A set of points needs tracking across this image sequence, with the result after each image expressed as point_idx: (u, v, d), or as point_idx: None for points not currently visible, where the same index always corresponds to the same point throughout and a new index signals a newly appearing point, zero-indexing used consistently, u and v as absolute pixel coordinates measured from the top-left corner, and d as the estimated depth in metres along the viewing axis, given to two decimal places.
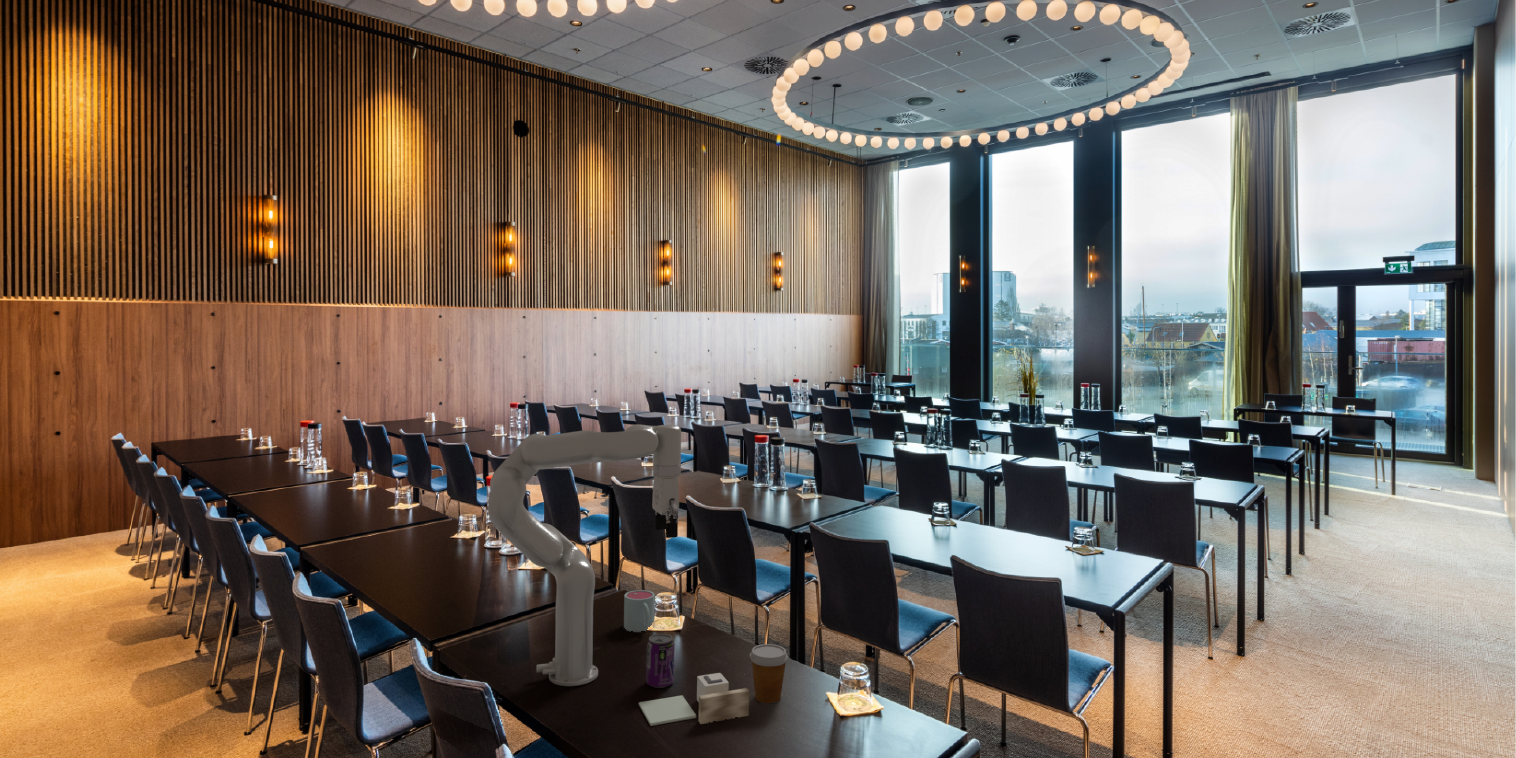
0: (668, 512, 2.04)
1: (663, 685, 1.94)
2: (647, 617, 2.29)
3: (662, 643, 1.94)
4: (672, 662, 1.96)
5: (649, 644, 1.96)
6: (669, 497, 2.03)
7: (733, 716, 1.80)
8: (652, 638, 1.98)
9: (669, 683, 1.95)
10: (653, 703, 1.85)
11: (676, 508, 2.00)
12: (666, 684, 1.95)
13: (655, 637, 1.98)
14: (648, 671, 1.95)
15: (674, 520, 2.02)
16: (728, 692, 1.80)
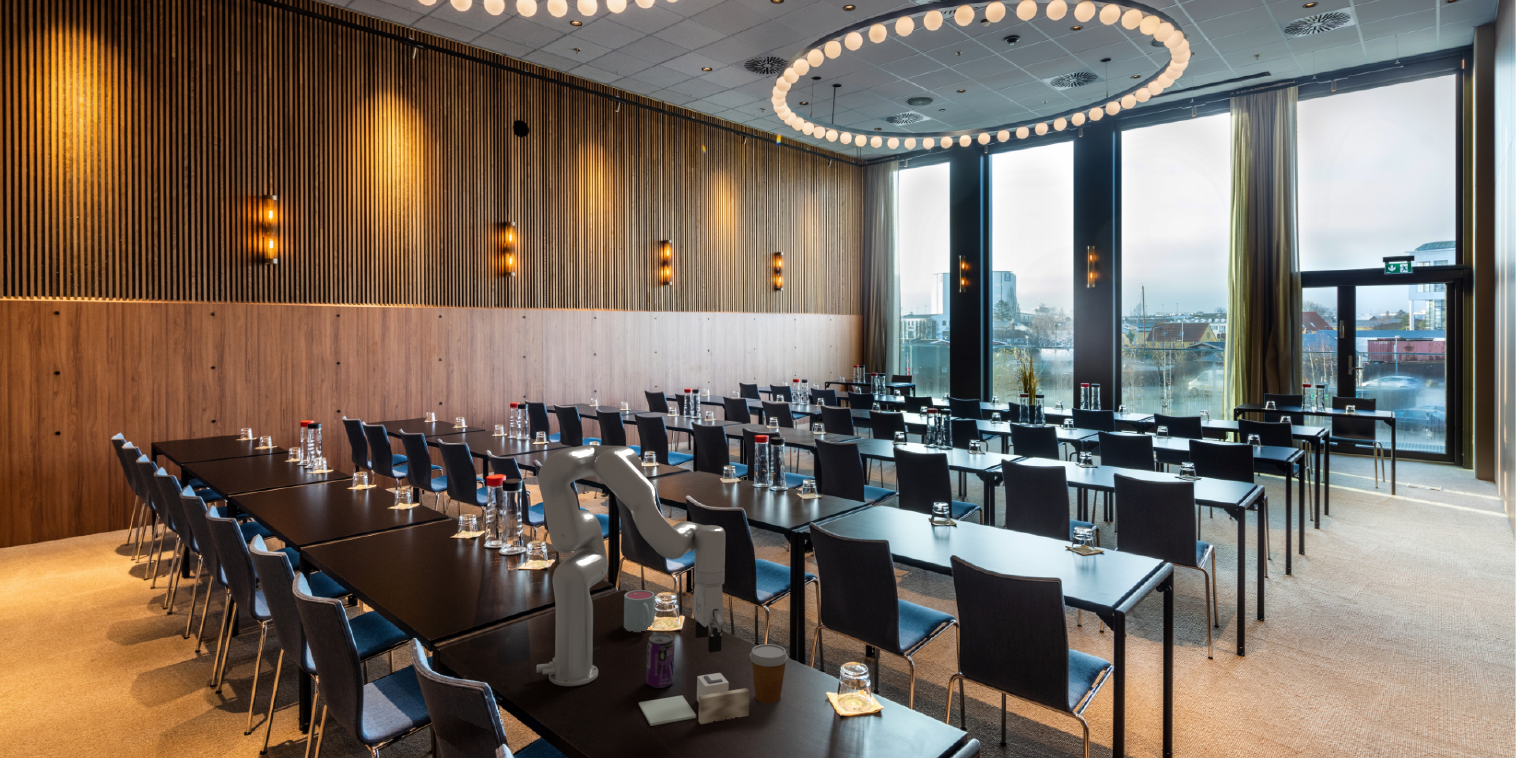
0: (711, 624, 1.86)
1: (663, 685, 1.94)
2: (647, 617, 2.29)
3: (662, 643, 1.94)
4: (672, 662, 1.96)
5: (649, 644, 1.96)
6: (712, 608, 1.85)
7: (733, 716, 1.80)
8: (652, 638, 1.98)
9: (669, 683, 1.95)
10: (653, 703, 1.85)
11: (720, 621, 1.83)
12: (666, 684, 1.95)
13: (655, 637, 1.98)
14: (648, 671, 1.95)
15: (718, 633, 1.84)
16: (728, 692, 1.80)
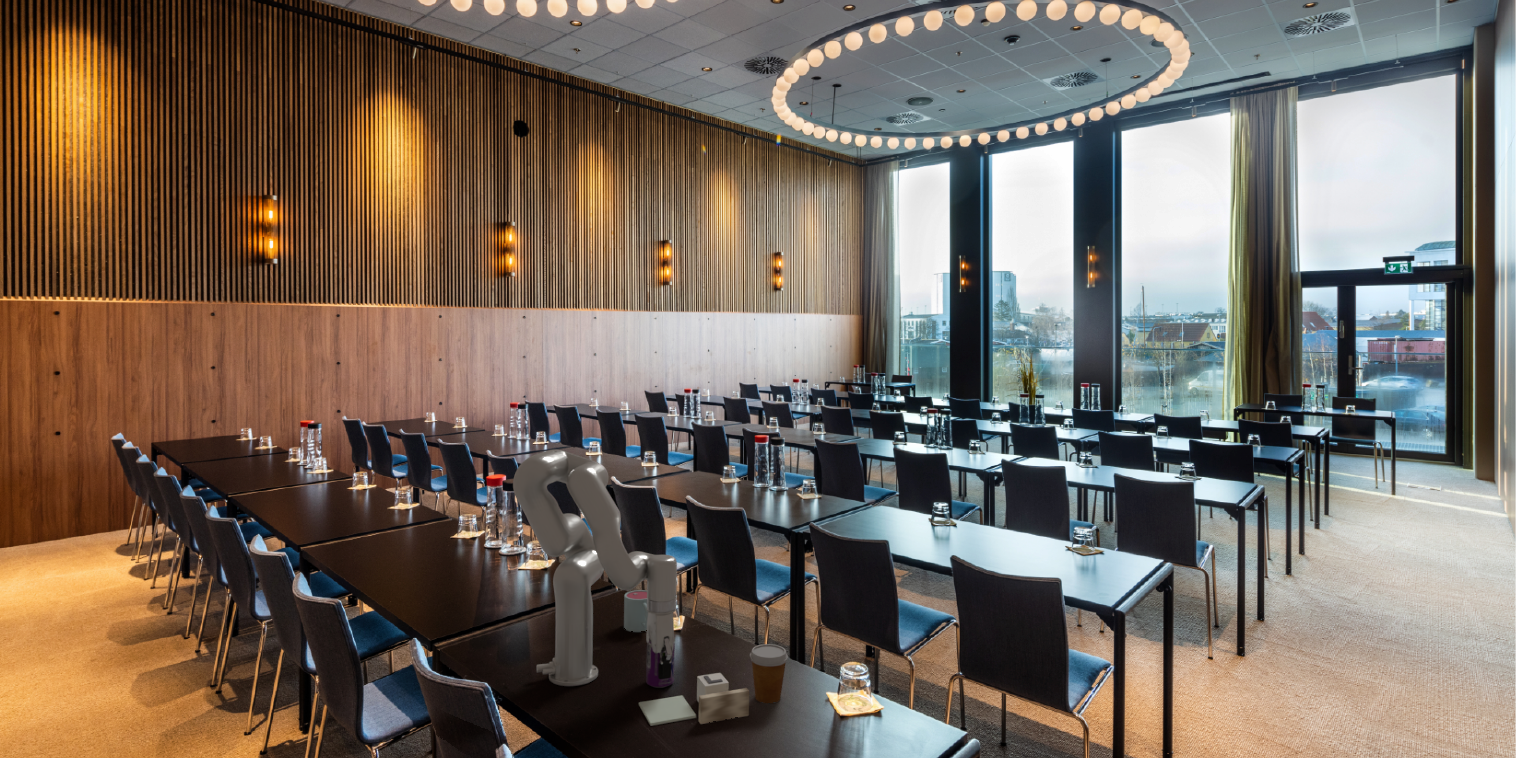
0: (661, 652, 1.93)
1: (663, 685, 1.94)
2: None
3: None
4: (672, 662, 1.96)
5: (649, 644, 1.96)
6: (663, 637, 1.92)
7: (733, 716, 1.80)
8: None
9: (669, 683, 1.95)
10: (653, 703, 1.85)
11: (670, 652, 1.90)
12: (666, 684, 1.95)
13: None
14: (648, 671, 1.95)
15: (667, 661, 1.92)
16: (728, 692, 1.80)
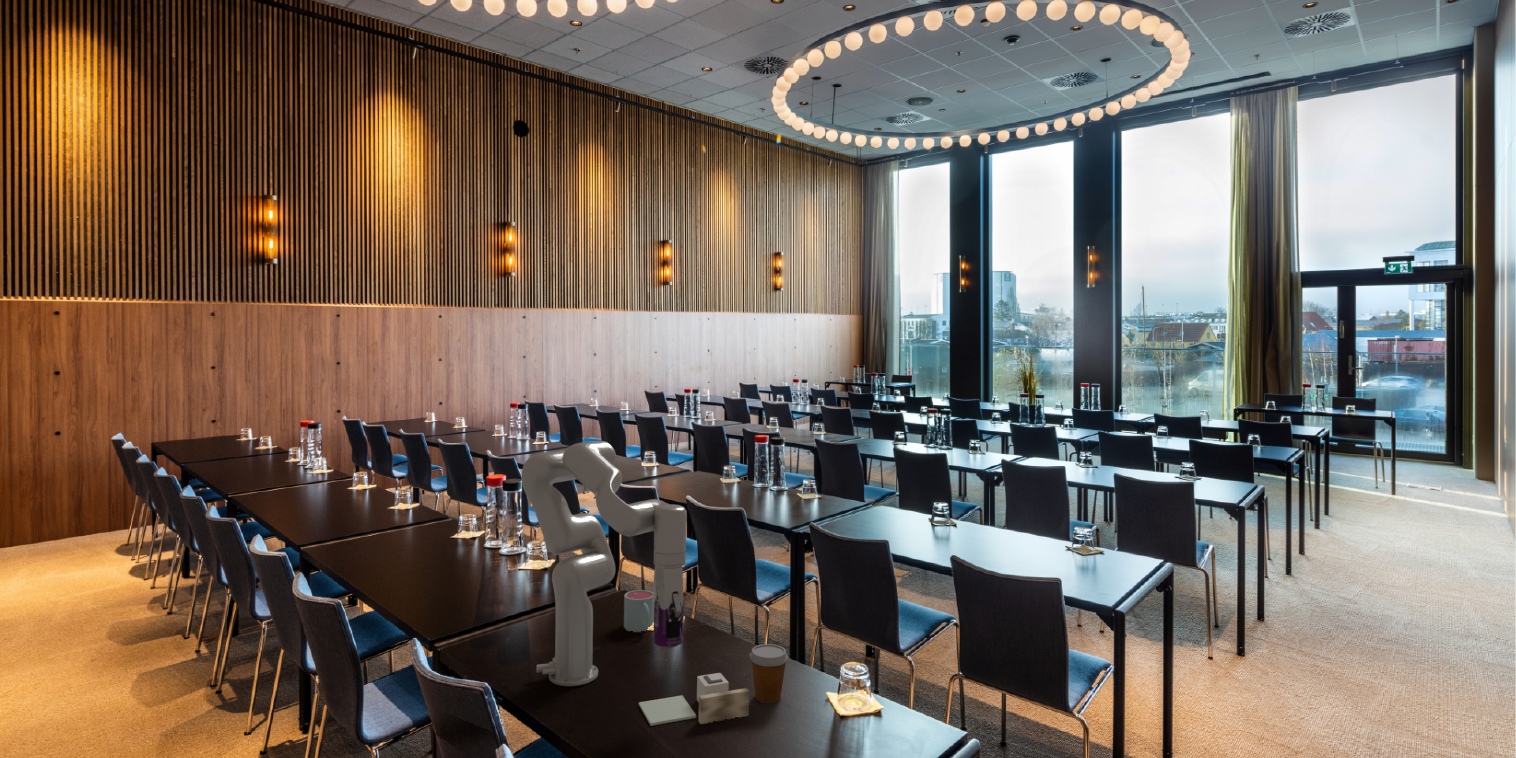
0: (670, 608, 1.78)
1: (672, 645, 1.79)
2: (647, 617, 2.29)
3: None
4: (681, 620, 1.81)
5: (657, 600, 1.80)
6: (672, 592, 1.77)
7: (733, 716, 1.80)
8: None
9: (678, 643, 1.80)
10: (653, 703, 1.85)
11: (679, 608, 1.75)
12: (675, 644, 1.80)
13: None
14: (655, 630, 1.80)
15: (676, 618, 1.77)
16: (728, 692, 1.80)
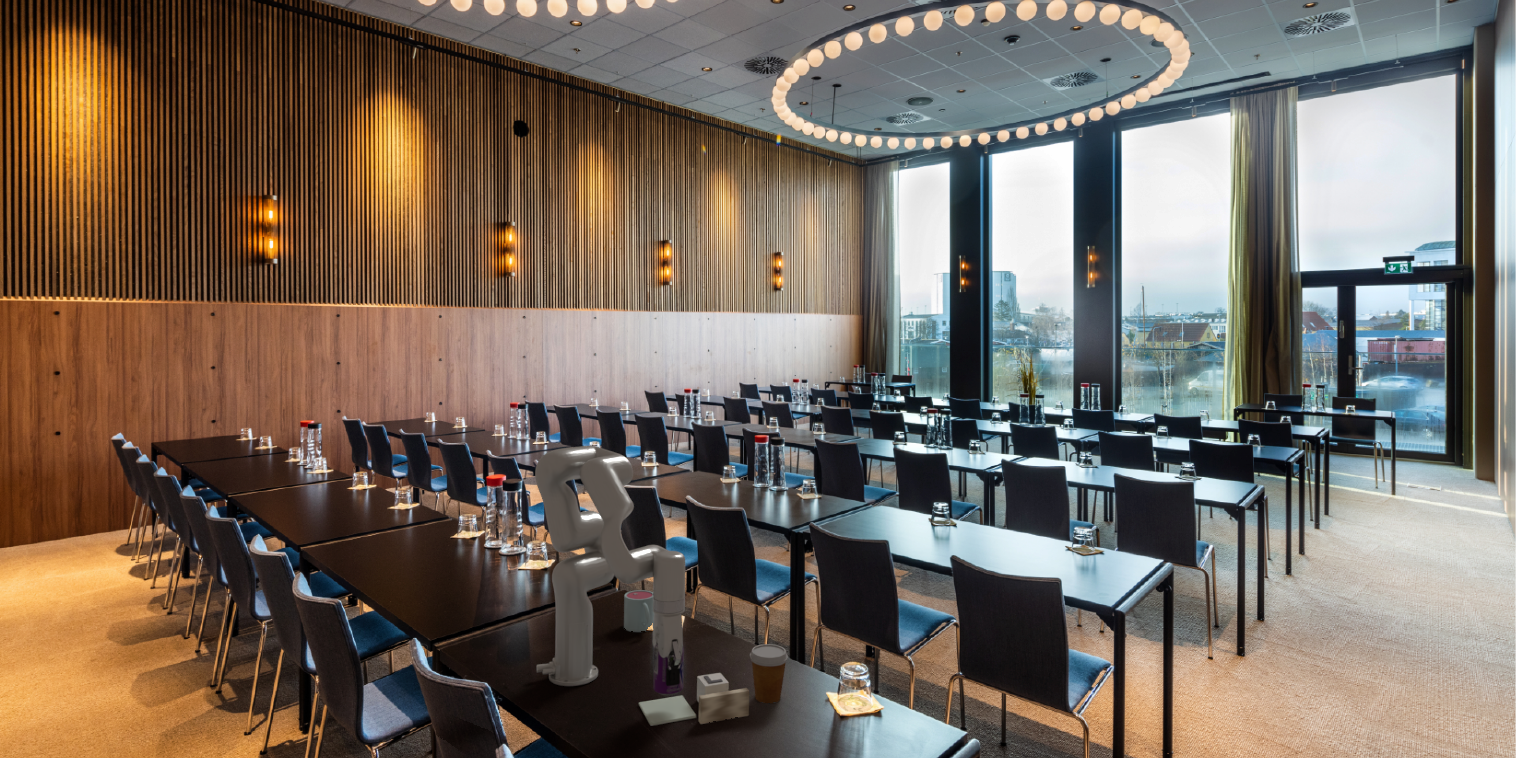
0: (669, 656, 1.78)
1: (672, 692, 1.79)
2: (647, 617, 2.29)
3: None
4: (681, 667, 1.81)
5: (656, 648, 1.81)
6: (671, 640, 1.77)
7: (733, 716, 1.80)
8: None
9: (678, 690, 1.80)
10: (653, 703, 1.85)
11: (678, 656, 1.75)
12: (675, 691, 1.80)
13: None
14: (655, 677, 1.80)
15: (675, 666, 1.77)
16: (728, 692, 1.80)
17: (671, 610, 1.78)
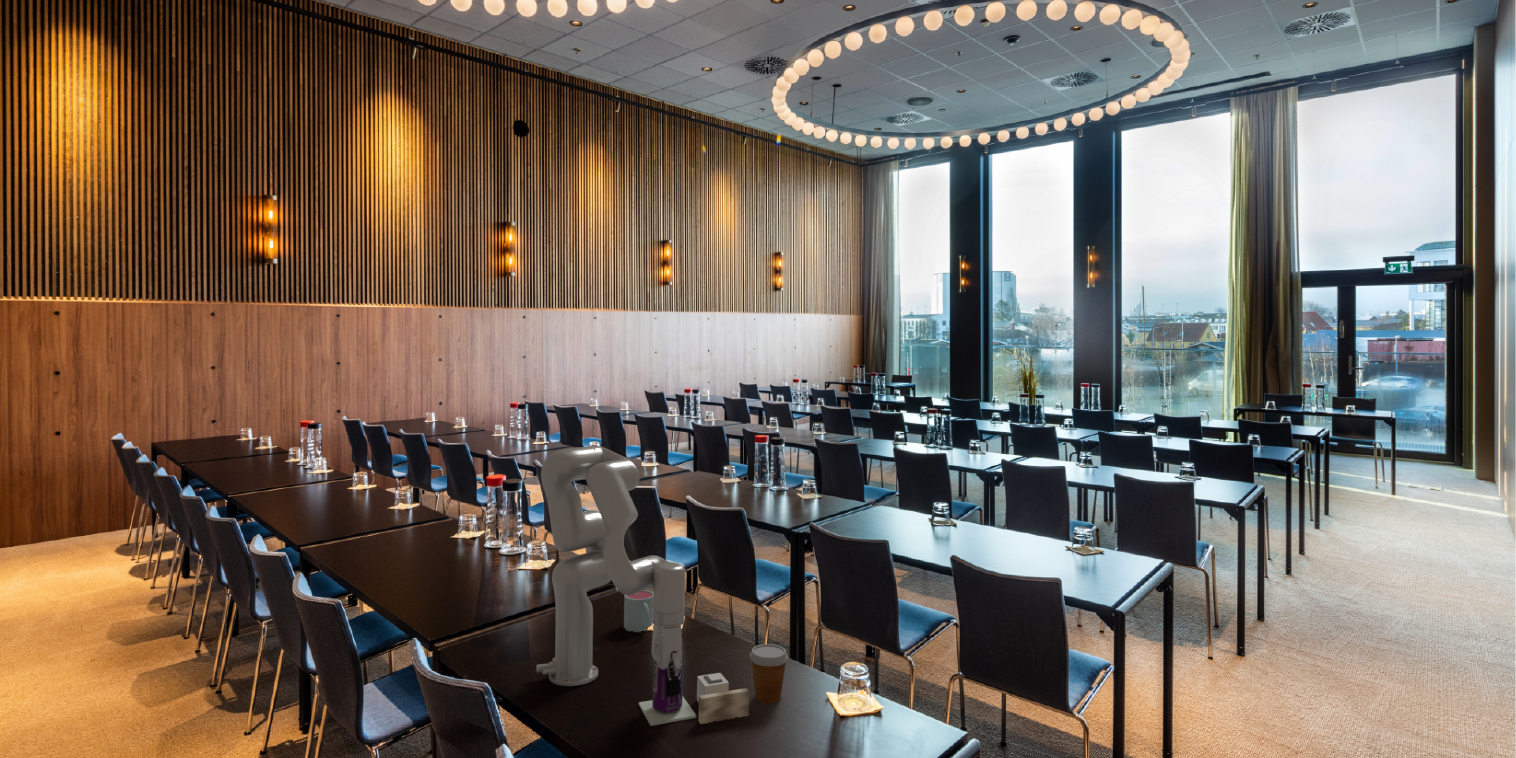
0: (669, 666, 1.78)
1: (671, 710, 1.80)
2: (647, 617, 2.29)
3: None
4: (680, 685, 1.82)
5: (656, 665, 1.81)
6: (670, 650, 1.78)
7: (733, 716, 1.80)
8: None
9: (677, 708, 1.81)
10: None
11: (678, 665, 1.75)
12: (674, 709, 1.80)
13: None
14: (654, 695, 1.81)
15: (676, 677, 1.77)
16: (728, 692, 1.80)
17: (671, 622, 1.79)
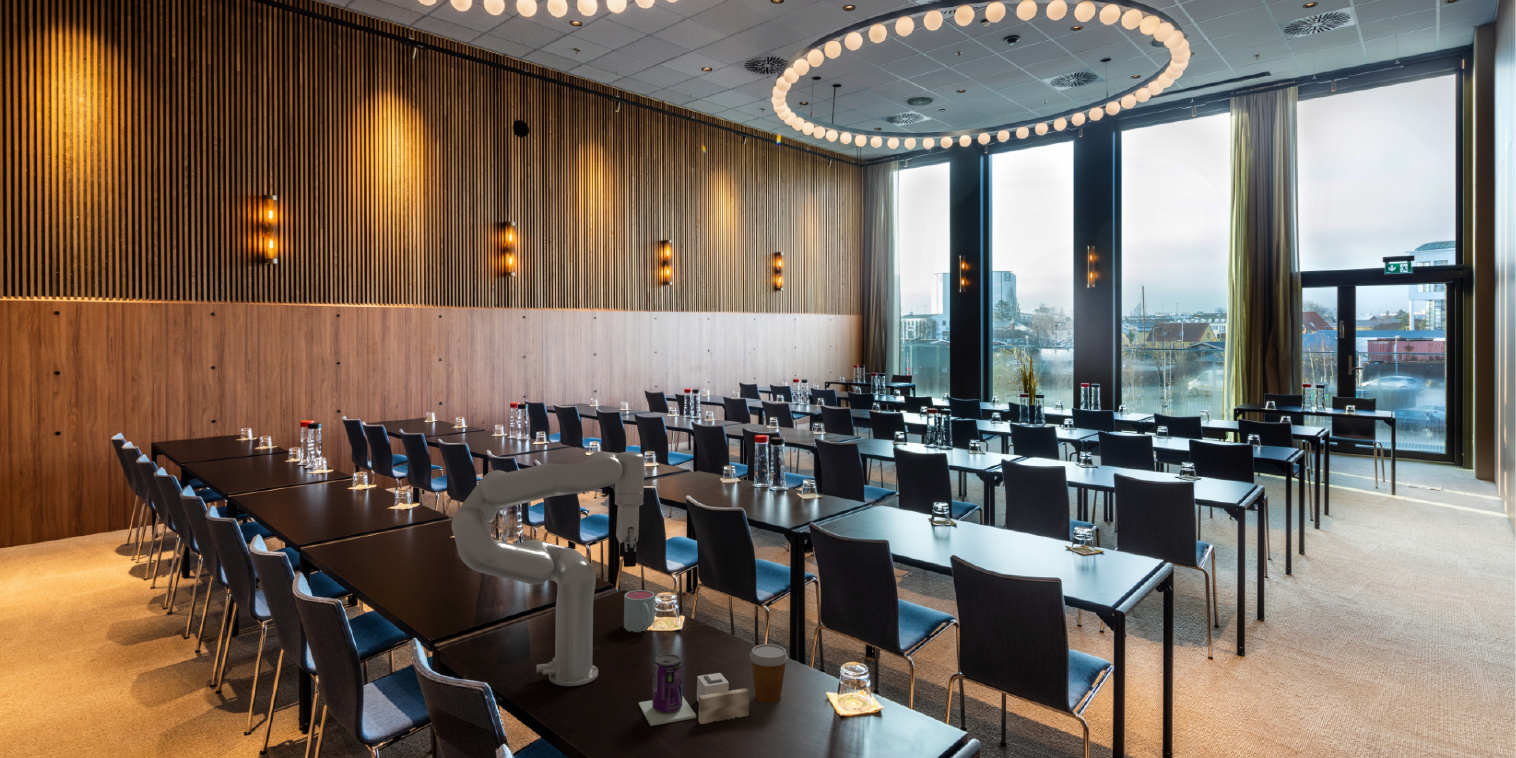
0: (627, 541, 2.01)
1: (671, 710, 1.80)
2: (647, 617, 2.29)
3: (669, 665, 1.80)
4: (680, 685, 1.82)
5: (655, 666, 1.81)
6: (628, 526, 2.01)
7: (733, 716, 1.80)
8: (659, 659, 1.83)
9: (677, 708, 1.81)
10: None
11: (632, 537, 1.98)
12: (674, 709, 1.80)
13: (662, 658, 1.84)
14: (654, 695, 1.81)
15: (631, 549, 1.99)
16: (728, 692, 1.80)
17: (629, 501, 2.02)
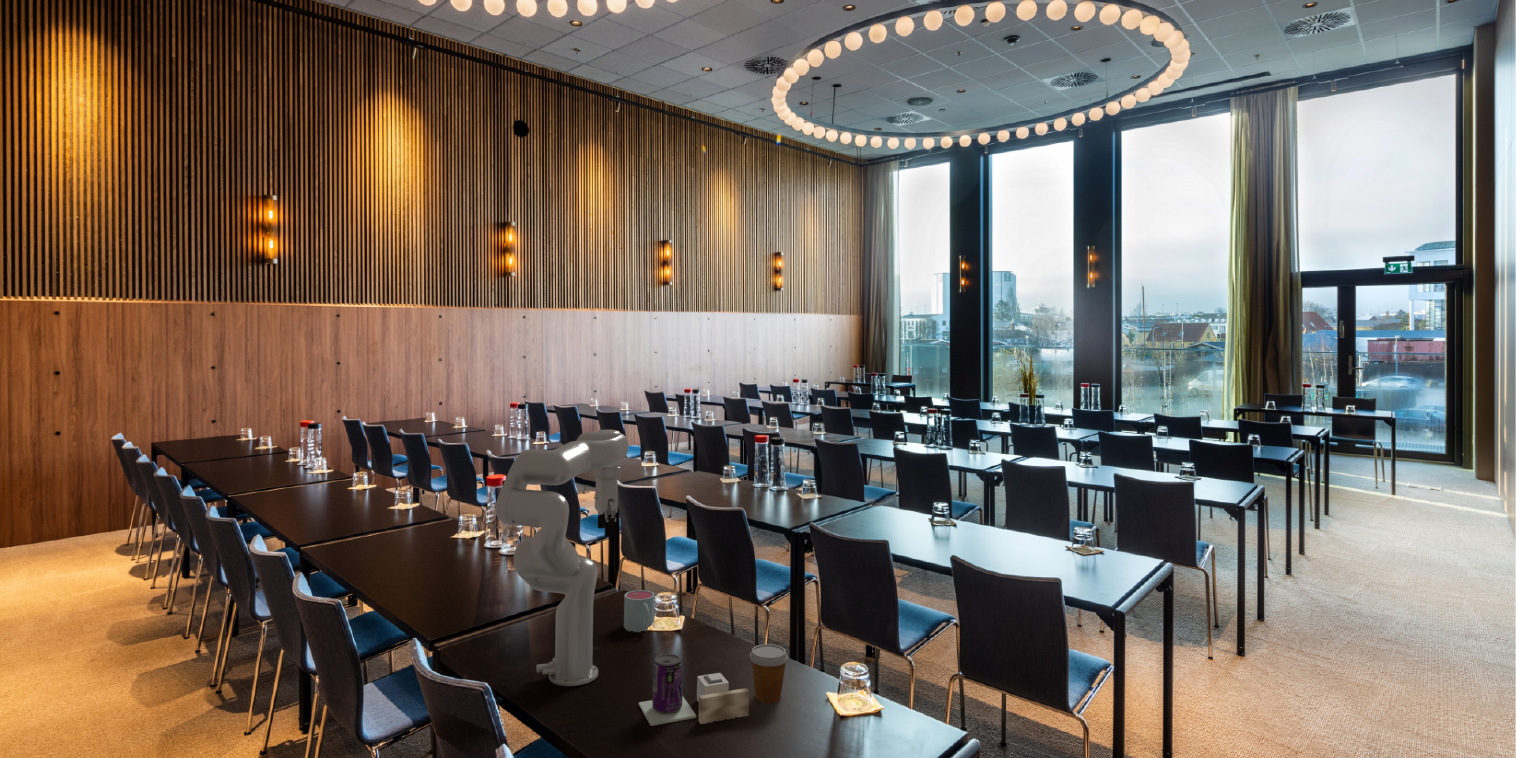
0: (607, 512, 2.16)
1: (671, 710, 1.80)
2: (647, 617, 2.29)
3: (669, 665, 1.80)
4: (680, 685, 1.82)
5: (655, 666, 1.81)
6: (608, 498, 2.16)
7: (733, 716, 1.80)
8: (659, 659, 1.83)
9: (677, 708, 1.81)
10: None
11: (613, 508, 2.13)
12: (674, 709, 1.80)
13: (662, 658, 1.84)
14: (654, 695, 1.81)
15: (612, 519, 2.15)
16: (728, 692, 1.80)
17: (608, 475, 2.17)
